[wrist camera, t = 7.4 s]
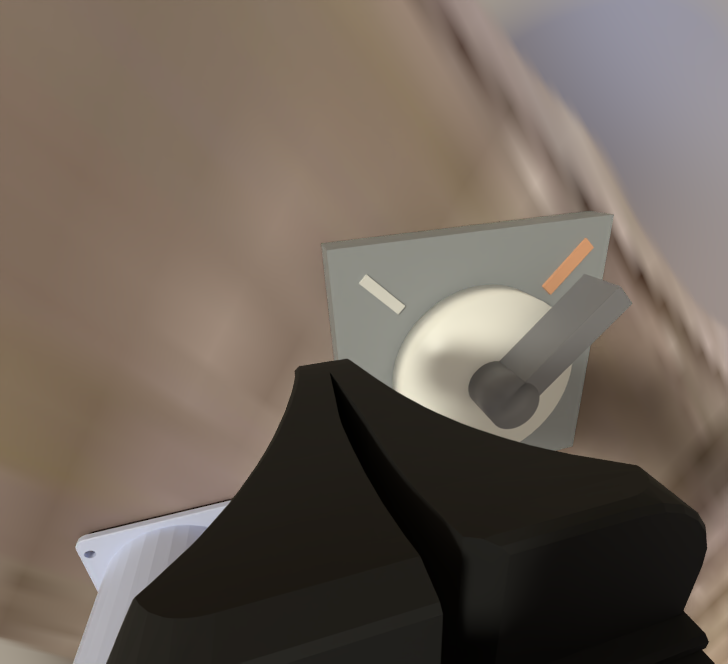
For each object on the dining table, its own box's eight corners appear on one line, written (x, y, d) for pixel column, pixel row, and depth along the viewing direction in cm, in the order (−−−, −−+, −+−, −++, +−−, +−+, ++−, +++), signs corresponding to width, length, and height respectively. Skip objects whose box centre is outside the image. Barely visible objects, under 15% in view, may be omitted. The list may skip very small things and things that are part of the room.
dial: (466, 466, 23) (499, 513, 20) (355, 388, 19) (375, 432, 16) (608, 325, 22) (667, 352, 19) (518, 210, 18) (574, 221, 15)
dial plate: (556, 431, 27) (574, 447, 25) (347, 482, 24) (354, 503, 22) (590, 210, 21) (616, 214, 19) (321, 243, 18) (327, 250, 17)
